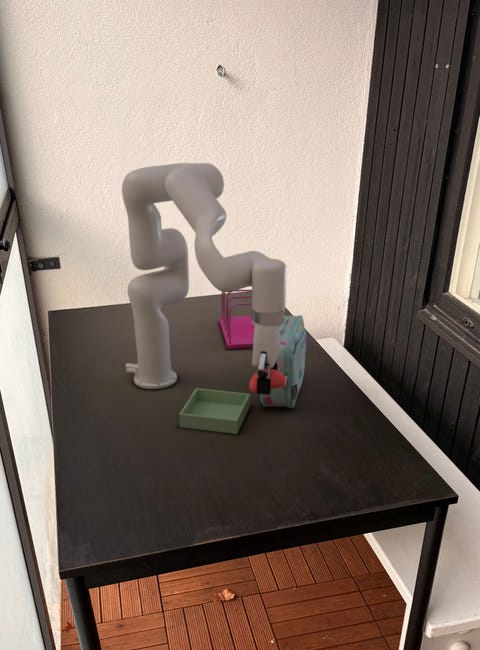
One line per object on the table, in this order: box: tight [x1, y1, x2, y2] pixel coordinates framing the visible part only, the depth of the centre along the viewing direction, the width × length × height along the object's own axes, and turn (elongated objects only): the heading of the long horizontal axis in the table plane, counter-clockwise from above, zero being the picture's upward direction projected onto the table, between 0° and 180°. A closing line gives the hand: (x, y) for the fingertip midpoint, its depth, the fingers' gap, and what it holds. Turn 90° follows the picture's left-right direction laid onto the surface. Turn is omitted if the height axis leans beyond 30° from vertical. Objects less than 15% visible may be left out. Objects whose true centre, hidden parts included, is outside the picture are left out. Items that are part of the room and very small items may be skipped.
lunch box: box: [259, 314, 307, 409], centre depth 177 cm, size 27×10×21 cm, turn 168°
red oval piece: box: [248, 369, 285, 395], centre depth 154 cm, size 5×9×6 cm, turn 110°
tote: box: [178, 387, 251, 435], centre depth 170 cm, size 15×15×4 cm
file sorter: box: [218, 289, 255, 350], centre depth 217 cm, size 17×25×16 cm
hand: (267, 385), depth 154 cm, fingers closed on red oval piece, 7 cm apart
